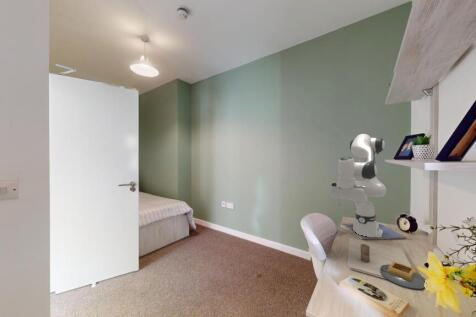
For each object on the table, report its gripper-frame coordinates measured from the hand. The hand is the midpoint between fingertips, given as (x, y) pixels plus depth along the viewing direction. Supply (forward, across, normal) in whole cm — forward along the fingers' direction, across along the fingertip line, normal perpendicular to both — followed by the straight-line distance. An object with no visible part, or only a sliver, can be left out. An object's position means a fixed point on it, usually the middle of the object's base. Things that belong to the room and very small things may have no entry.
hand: (347, 207), depth 108 cm
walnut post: (+27, -9, +1) cm, 29 cm away
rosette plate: (+27, -25, +4) cm, 37 cm away
